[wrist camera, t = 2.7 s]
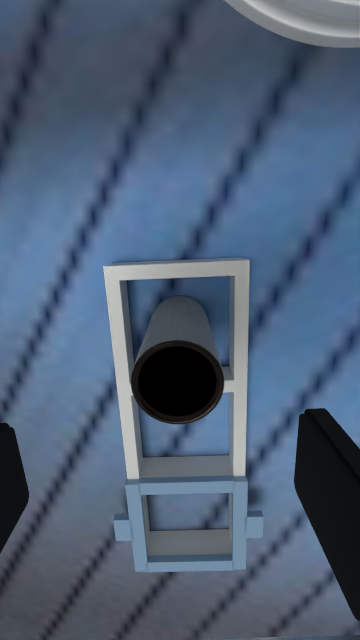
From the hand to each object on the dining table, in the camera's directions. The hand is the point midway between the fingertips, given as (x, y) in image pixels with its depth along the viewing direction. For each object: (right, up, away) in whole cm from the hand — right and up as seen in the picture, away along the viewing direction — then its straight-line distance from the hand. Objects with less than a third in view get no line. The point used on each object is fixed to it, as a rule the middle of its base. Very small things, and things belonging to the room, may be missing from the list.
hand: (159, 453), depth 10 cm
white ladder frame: (+1, -4, +17) cm, 17 cm away
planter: (+1, +4, +15) cm, 15 cm away
